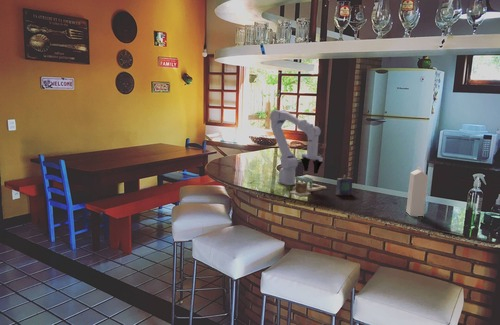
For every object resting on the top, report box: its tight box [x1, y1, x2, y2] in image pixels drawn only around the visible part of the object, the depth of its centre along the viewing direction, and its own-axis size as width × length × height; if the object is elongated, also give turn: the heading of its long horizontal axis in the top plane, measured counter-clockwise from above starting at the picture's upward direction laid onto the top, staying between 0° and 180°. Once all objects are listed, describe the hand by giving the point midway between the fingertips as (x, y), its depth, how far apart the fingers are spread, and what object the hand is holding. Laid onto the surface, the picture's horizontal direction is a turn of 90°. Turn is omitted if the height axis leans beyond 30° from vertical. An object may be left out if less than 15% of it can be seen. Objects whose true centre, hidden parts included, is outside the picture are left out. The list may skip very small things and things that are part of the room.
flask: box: [335, 174, 354, 197], centre depth 211 cm, size 9×3×11 cm, turn 109°
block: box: [295, 181, 307, 193], centre depth 210 cm, size 4×4×5 cm
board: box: [292, 183, 327, 193], centre depth 222 cm, size 10×16×1 cm, turn 129°
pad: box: [289, 190, 312, 197], centre depth 210 cm, size 8×8×1 cm
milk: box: [405, 165, 429, 217], centre depth 178 cm, size 6×6×22 cm
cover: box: [294, 175, 314, 189], centre depth 219 cm, size 8×5×6 cm, turn 39°
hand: (310, 172), depth 221 cm, fingers open, 7 cm apart
